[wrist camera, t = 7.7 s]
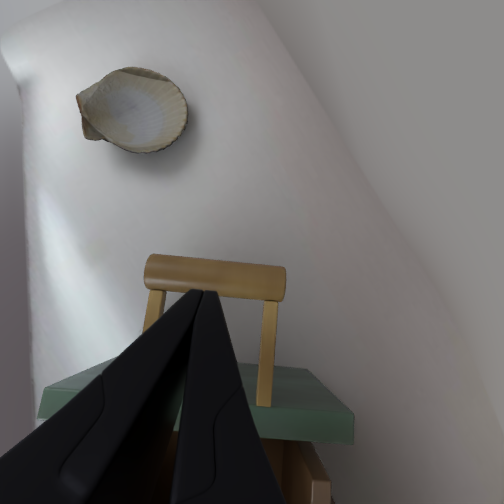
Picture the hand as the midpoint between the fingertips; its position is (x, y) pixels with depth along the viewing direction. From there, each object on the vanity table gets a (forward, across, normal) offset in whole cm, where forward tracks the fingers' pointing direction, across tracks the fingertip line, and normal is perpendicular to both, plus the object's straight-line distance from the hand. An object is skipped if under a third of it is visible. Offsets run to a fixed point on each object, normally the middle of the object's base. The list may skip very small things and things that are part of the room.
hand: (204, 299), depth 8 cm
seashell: (+18, +9, -2) cm, 20 cm away
